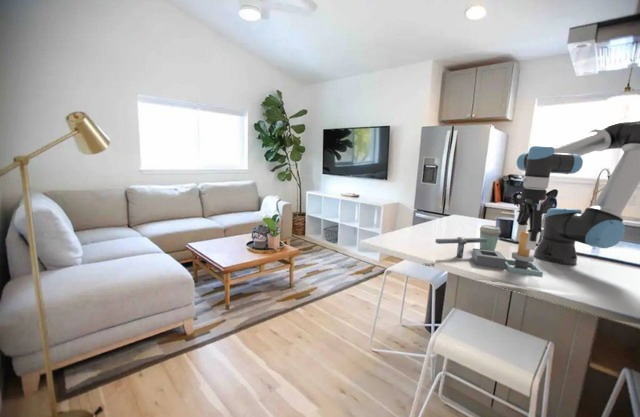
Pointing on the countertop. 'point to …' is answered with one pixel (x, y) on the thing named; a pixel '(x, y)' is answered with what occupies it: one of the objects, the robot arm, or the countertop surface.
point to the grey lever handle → (461, 243)
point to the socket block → (488, 258)
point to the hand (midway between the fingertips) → (524, 244)
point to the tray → (533, 272)
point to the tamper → (522, 253)
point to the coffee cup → (489, 237)
